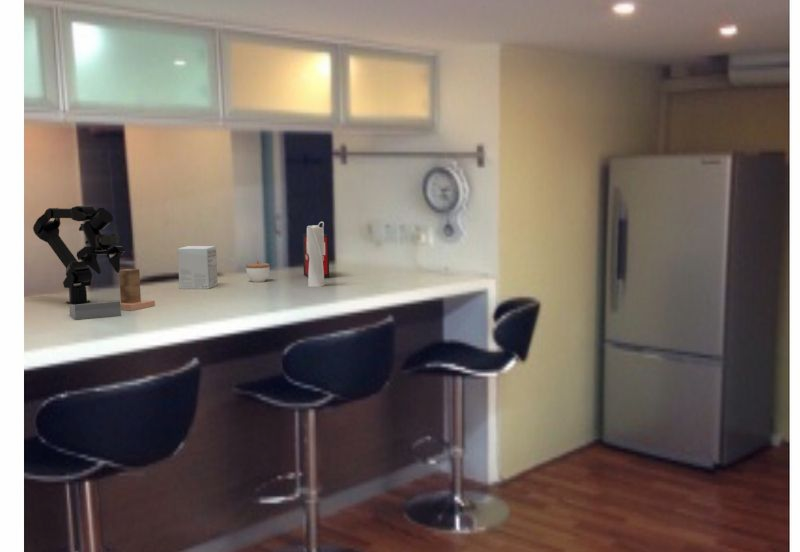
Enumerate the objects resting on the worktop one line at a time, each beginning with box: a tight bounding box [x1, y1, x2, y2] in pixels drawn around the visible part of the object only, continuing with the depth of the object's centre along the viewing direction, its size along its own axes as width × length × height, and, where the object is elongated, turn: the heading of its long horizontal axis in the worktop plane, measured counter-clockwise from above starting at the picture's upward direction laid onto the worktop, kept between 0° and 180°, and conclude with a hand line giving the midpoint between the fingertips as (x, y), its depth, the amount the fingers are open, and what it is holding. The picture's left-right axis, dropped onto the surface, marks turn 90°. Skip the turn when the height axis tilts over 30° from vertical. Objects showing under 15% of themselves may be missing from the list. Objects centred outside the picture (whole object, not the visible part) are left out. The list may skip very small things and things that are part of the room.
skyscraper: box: [306, 221, 325, 288], centre depth 359 cm, size 8×8×28 cm
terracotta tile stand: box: [119, 299, 156, 312], centre depth 308 cm, size 12×12×2 cm
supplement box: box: [177, 245, 218, 290], centre depth 361 cm, size 13×13×18 cm
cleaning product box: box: [302, 233, 330, 280], centre depth 392 cm, size 16×9×20 cm, turn 17°
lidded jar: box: [245, 260, 271, 283], centre depth 378 cm, size 11×11×9 cm
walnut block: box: [118, 268, 142, 303], centre depth 307 cm, size 5×5×12 cm
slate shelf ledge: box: [69, 300, 122, 321], centre depth 291 cm, size 12×15×5 cm
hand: (109, 272), depth 308 cm, fingers open, 9 cm apart
